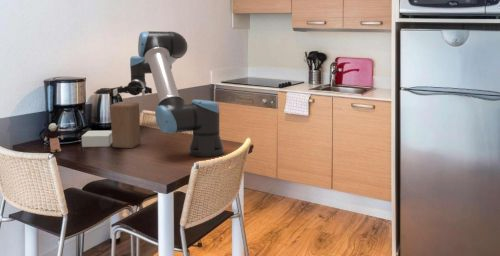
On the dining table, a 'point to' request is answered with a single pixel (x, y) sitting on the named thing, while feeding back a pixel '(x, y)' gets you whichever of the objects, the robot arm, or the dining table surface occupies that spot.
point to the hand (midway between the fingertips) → (128, 93)
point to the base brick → (97, 139)
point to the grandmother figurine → (53, 138)
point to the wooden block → (125, 124)
